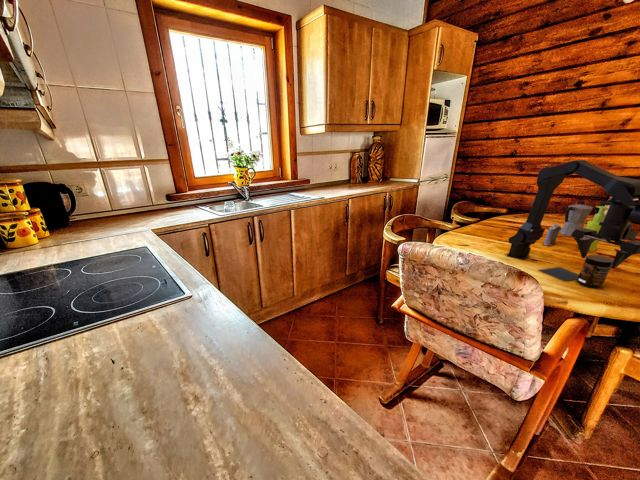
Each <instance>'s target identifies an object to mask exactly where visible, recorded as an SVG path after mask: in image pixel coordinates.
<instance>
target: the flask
mask: <svg viewBox="0 0 640 480" xmlns="http://www.w3.org/2000/svg"><path fill="white" fill-rule="evenodd" d="M561 229H562V225H560V224H558V223H557V222H552V226H550V227H548V229H547V233H546V236H545V238H544V241H543V244H542V245H543V246H546V247H550V246H552V245H553V244H555V243H556V241H557V238H558V235H559V234H560V233H559V232H560V230H561Z"/></svg>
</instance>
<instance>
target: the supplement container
mask: <svg viewBox="0 0 640 480" xmlns="http://www.w3.org/2000/svg"><path fill="white" fill-rule="evenodd" d="M613 261H614V258H610V257H607V256H603V255H598V254H597V255H596V254H587V255H586V257H585V258H584V262H583V264H582V267H581V269H580V270H579V271H580V272H579V274H578V275H579V276H578V279H576V283H578V285H580V286H582V287H586V288H590V289H600V288H603V285H604V283H605V281H606V280H607V277H608V275H609V273H610V271H611V268H612V264H613Z"/></svg>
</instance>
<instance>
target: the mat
mask: <svg viewBox="0 0 640 480" xmlns="http://www.w3.org/2000/svg"><path fill="white" fill-rule="evenodd" d="M538 271H540V272H542V273H544V274H547V275H549V276H551V277H554V278H556V279H559V280H561V281H563V282H569V281H574V280H575V281H577V279H578V276H579V274H578V273H576V272H573V271H571V270H568V269H566V268H563V267H552V268H545V269H539V270H538Z"/></svg>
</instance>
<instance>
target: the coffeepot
mask: <svg viewBox="0 0 640 480" xmlns="http://www.w3.org/2000/svg"><path fill="white" fill-rule="evenodd" d="M579 202H580V203H579V204H570V205H568V207H567V208H566V210H565V211H564V223H563V226H561V228H560V230H559V233H558V234H560V235H563V236H567V237H571V234H572V232H573V231H574V230H576V229H584V226H585V221H586V220H587V219H588V217H589V215H590V214H591V212H592V211H593V208H594V207H592V206H591V205H586V204H585V202H586V201H585V200H580V201H579Z"/></svg>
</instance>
